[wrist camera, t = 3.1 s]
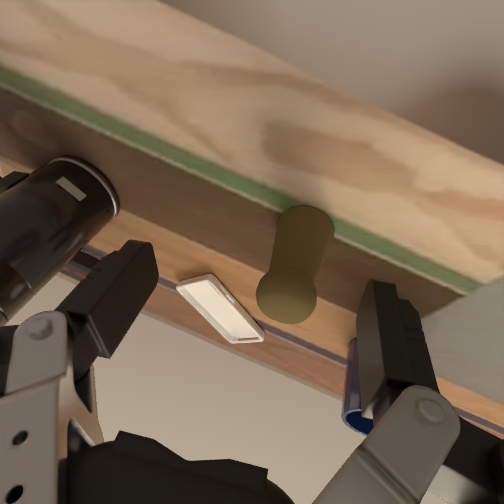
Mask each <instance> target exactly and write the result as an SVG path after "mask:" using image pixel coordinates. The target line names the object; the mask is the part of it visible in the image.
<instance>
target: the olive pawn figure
mask: <svg viewBox="0 0 504 504" xmlns="http://www.w3.org/2000/svg"><path fill="white" fill-rule="evenodd" d="M333 237H334V226H333V222H332V221H331V219H330V218H329V217H328V215H326V214H325V213H324V212H322V211H321V210H319V209H316V208H314V207H311V206H296V207H292V208H290V209H288V210H286V211H285V212H284V213H283V214H282V215H281V216H280V218H279V221H278V225H277V231H276V236H275V242H274V247H273V253H272V258H271V264H270V269H269V272H267V273H266V274H265V275H264V276H263V277H262V278H261V280H260V282H259V284H258V287H257V290H256V300H257V304H258V306H259V308H260V310H261V311H262V312H263V313H264V314H265V315H266V316H268V317H270V318H271V319H273V320H275V321H278V322H281V323H286V324H296V323H300V322H302V321H304V320H306V319H307V318H308V317H310V315H311V314H312V312H313V311H314V309H315V307H316V301H317V293H316V288H315V286H314V283H315V281H316V279H317V276H318V274H319V271H320V269H321V266H322V264H323V261H324V259H325V256H326V254H327V251H328V249H329V247H330V244H331V242H332V239H333Z"/></svg>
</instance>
